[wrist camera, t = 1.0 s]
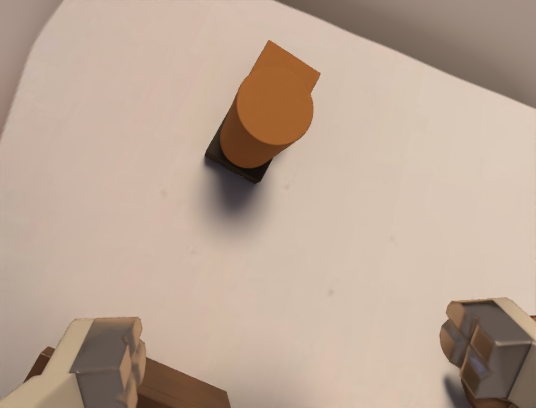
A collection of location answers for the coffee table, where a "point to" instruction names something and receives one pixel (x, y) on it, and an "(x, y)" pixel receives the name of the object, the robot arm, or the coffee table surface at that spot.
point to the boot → (265, 114)
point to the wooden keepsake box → (161, 387)
